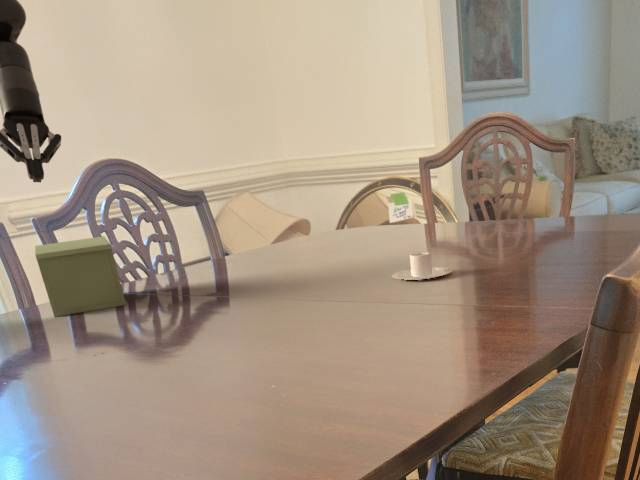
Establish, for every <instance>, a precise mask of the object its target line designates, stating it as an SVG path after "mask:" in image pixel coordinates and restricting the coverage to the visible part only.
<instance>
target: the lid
mask: <svg viewBox="0 0 640 480" xmlns="http://www.w3.org/2000/svg"><path fill="white" fill-rule="evenodd" d="M112 247H113V246H112V244H111V242H110V241H109V240H108V239H107V238H106V237H105V236H98V237H97V236H96V237H89V238H82V239H76V240H67V241H61V242H53V243H46V244H40V245H39V244H38V245H35V246H34V256H35V259H36V260H37V259H42V258H49V257H56V256H63V255H70V254H77V253H84V252H91V251H98V250H105V249H111V248H112Z"/></svg>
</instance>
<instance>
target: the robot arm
mask: <svg viewBox="0 0 640 480" xmlns="http://www.w3.org/2000/svg"><path fill="white" fill-rule="evenodd" d="M26 22H27V15H26V10H25V9H24V7H23V5H22V3H20V1H18V0H0V110H1V113H2V119H3V122H2V128H1V129H0V148H1V149H2V150H3V151H4V152H6V154H7V155H8V156H9V157H10V158H11V159H13V160H14V161H15V162H17V163H23V164H25V166H26V171H27V176H28V178H29V180H32V183H42V181H43V180H44V177H45V172H44V171H45V170H44V167H43V164H49V163H50V162H51V160H52V158H53V157H54V155H56V153H57V151H58V150H59V149H60V147H61V145H62V135H61V134H59V133H53V132H52V131H50V128H49V126H48V124H46V121H45V118H44V117H45V116H44V112H43V107H42V104H41V100H40V93H39V89H38V86H37V84H36V80H35V78H34V73H33V69H32V65H31V61H30V57H29V54H28V52H27V50H26V49H25V48H24V46H22V45H21V44H20V43H18V40H19V37H20V35H21V33H22V31H23V29H24V27H25V25H26ZM9 139H10V140H11V141H12V142H13V143H12V142H11V141H10V140H9ZM47 139H48V141H47ZM46 141H47V142H48V144H47V146H46V147H45V149H44V150H43V151H42V152H41V149H40V148H42V146H43V145H44V143H45V142H46ZM30 149H31V150H30Z"/></svg>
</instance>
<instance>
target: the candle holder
mask: <svg viewBox="0 0 640 480" xmlns="http://www.w3.org/2000/svg"><path fill="white" fill-rule="evenodd" d="M409 263H410V265H409V266H410V268H409V269H404V270H399V271H397V272H395V273H392V275H391V277H392V278H394V279H397V280H401V279H404V280H403V281H406V280H415V279H427V278H434V277H439V276H442V277H444V276H446V275H448V274H450V273H452V272H453V269H452V268H451V267H446V266H445V267H444V266H433V263H432V253H431V252H427V251H425V252H424V251H423V252H415V253H411V254H409ZM432 269H436V270H443V271H445V273H443V274H440V275H436V276H430V277H423V276H428V275H431V274H432ZM408 272H411V276H413V277H422V278H403V277H400V276H401V275H402V274H405V273H408ZM443 275H444V276H443ZM439 278H440V277H439ZM434 279H436V278H434ZM434 279H433V280H434ZM428 280H431V279H428ZM428 280H427V281H428ZM419 281H420V282H421V281H423V280H418V281H417V282H419Z"/></svg>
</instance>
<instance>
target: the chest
mask: <svg viewBox="0 0 640 480" xmlns="http://www.w3.org/2000/svg"><path fill="white" fill-rule="evenodd" d="M36 262H37V265H38V268H39V272H40V275H41V278H42V282H43V285H44V288H45V291H46V294H47V298H48V301H49V304H50V307H51V311H52V315H53V317H55V318H56V317H62V316H68V315H69V316H70V315H74V314H79V313H80V314H81V313H86V312H93V311H99V310H105V309H110V308H117V307H123V306H127V301H126V297H125V295H124V291H123V287H122V282H121V279H120V275H119V272H118V268H117V264H116V259H115V256H114V252H113V249H112V248H111V249H105V250H98V251H91V252H84V253H77V254H70V255H63V256H56V257H49V258H42V259H36Z"/></svg>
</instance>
